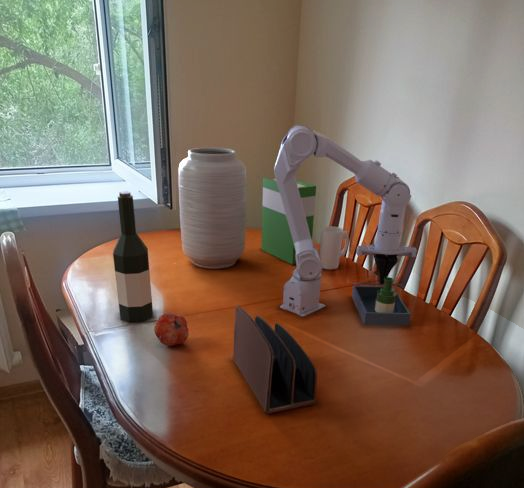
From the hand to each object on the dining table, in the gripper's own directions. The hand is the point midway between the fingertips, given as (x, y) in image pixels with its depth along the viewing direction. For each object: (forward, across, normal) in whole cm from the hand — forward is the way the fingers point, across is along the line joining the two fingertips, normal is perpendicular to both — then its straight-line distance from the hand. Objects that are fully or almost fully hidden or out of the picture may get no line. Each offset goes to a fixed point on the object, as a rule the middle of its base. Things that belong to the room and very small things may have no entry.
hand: (381, 282), depth 126 cm
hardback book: (+8, +22, -42) cm, 48 cm away
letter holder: (+8, +29, +35) cm, 46 cm away
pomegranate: (+8, +51, +20) cm, 55 cm away
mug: (+8, +7, -32) cm, 34 cm away
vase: (+8, +45, -34) cm, 57 cm away
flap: (+2, 0, -3) cm, 4 cm away
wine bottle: (+8, +62, +6) cm, 62 cm away
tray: (+8, 0, +2) cm, 8 cm away
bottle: (+7, 0, +6) cm, 10 cm away
